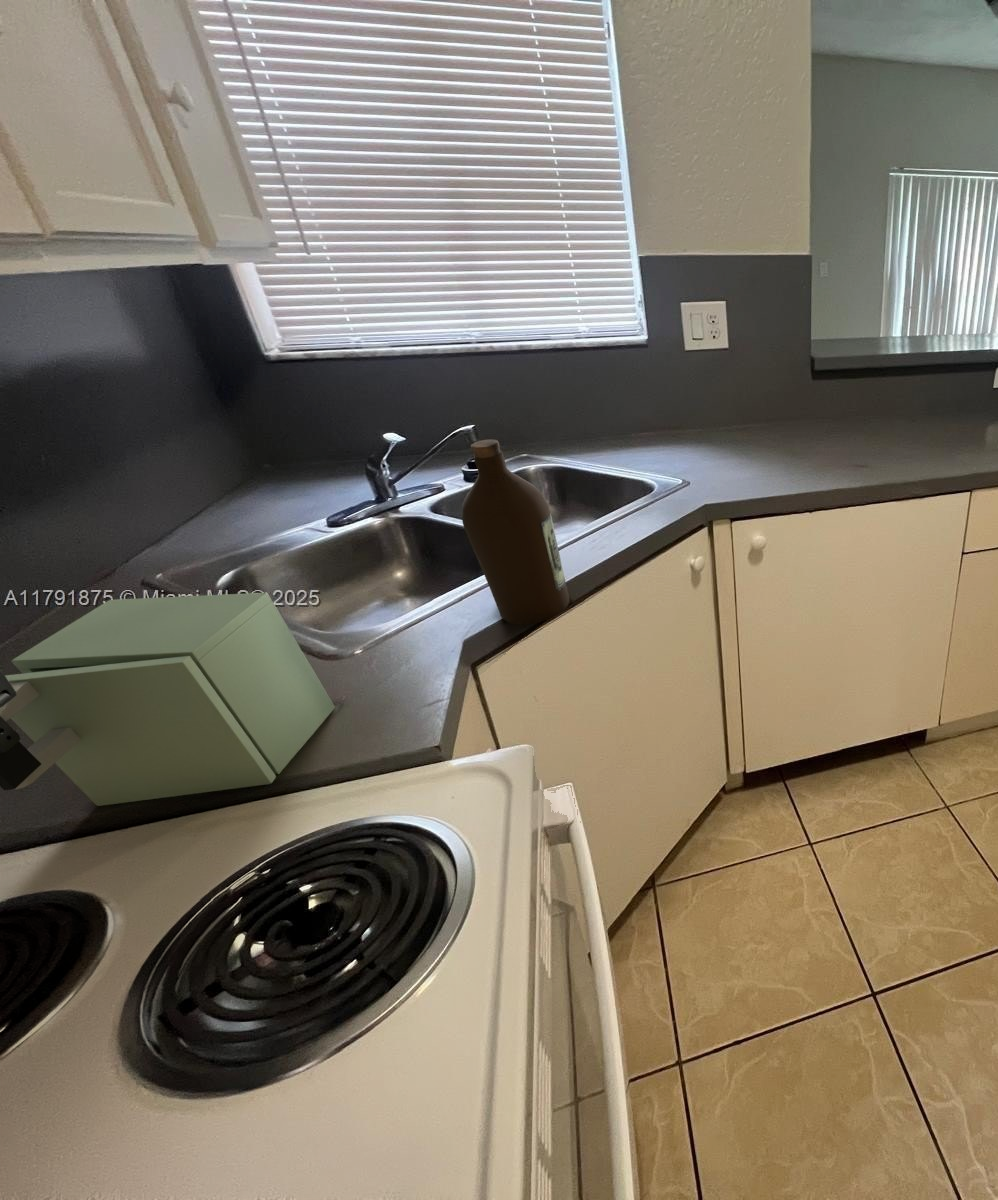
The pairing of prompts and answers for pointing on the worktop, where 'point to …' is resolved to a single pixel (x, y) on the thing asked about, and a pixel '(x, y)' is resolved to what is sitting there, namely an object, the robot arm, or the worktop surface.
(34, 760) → the robot arm
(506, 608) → the olive oil
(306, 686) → the cupboard
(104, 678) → the cupboard door
